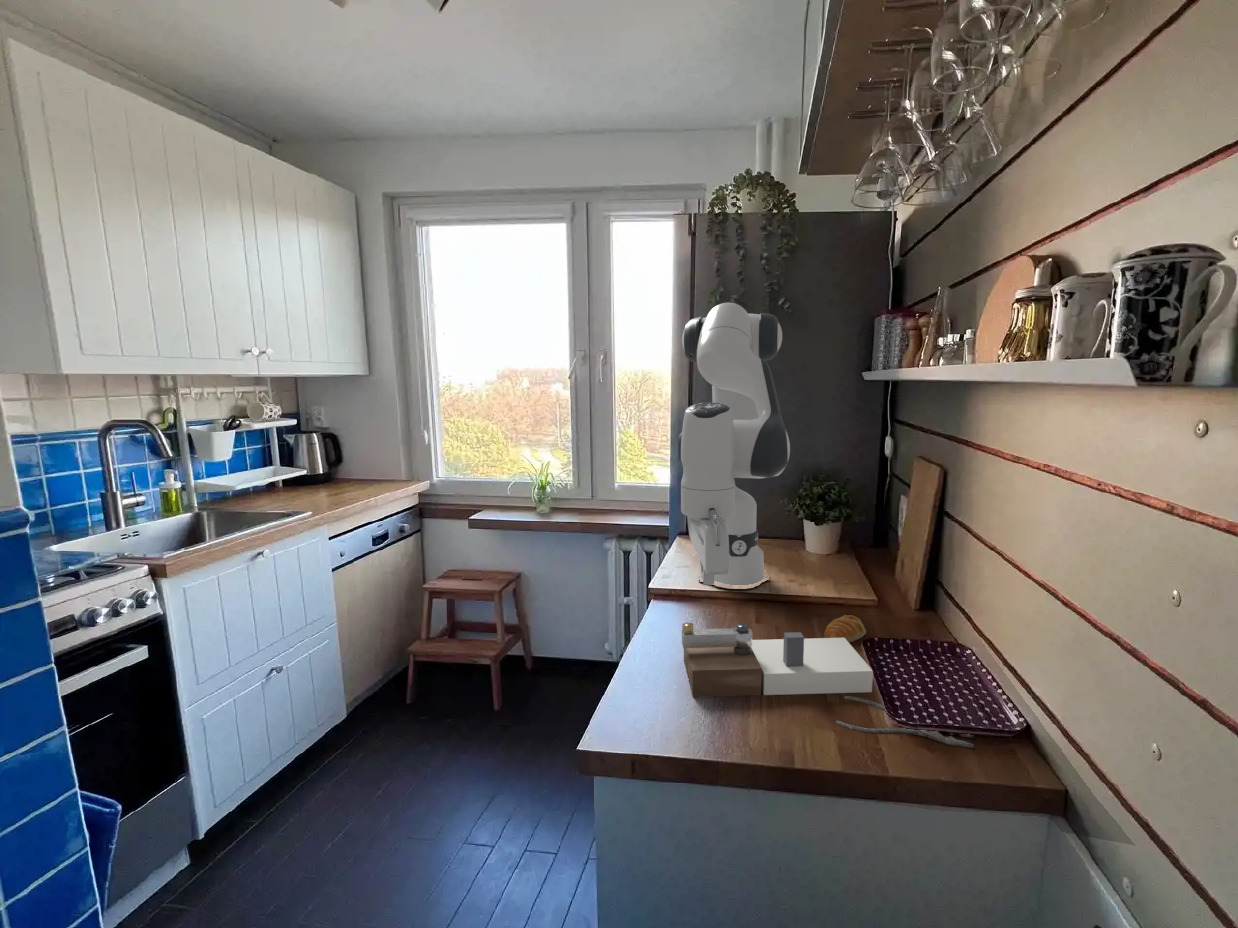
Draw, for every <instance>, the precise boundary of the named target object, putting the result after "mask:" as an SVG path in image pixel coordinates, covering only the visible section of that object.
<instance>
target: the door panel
mask: <svg viewBox="0 0 1238 928" xmlns="http://www.w3.org/2000/svg"><path fill="white" fill-rule="evenodd" d="M850 643H851V642H848V641H847V640H846V639H845V638H825V637H821V638H820V637H818V638H817V637H815V638H814V637H813V638H805V637H804V635H803V633H802V632H801V631H798V632H796V631H795V632H792V631H791V632H783V638H780V639H779V638H777V639H773V638H772V639H752V646H751V648H752V650H753V652H754V654H755V656H756V658H757V660H758V662H759V664H760V666H761V668H762V675H761V693H762V695H763V696H775V695H776V696H777V695H778V696H779V695H782V696H783V695H815V694H816V695H818V694H819V695H820V694H847V693H848V694H851V693H852V694H854V693H855V694H856V693H872V692H873V678H874V677H873V676H874V671H873V669H872V668H871V667H870V666H869V665H868V663H867V662H866V661H865V660H864V659H863V657H862V656H860V654H859V653H858V652H857V650H855V648H854V647H853V646H852V644H850Z"/></svg>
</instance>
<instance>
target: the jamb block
mask: <svg viewBox="0 0 1238 928" xmlns="http://www.w3.org/2000/svg"><path fill="white" fill-rule="evenodd" d="M683 663H684V666H685V667H684V668H685V672H686V674H687V679H689V680H688V683H689V687H690V691H691V695H692V697H693V698H704V697H705V698H707V697H709V698H710V697H711V698H713V697H741V696H742V697H744V696H748V697H749V696H762V690H761V675H762V668H761V666H760V664H759V662H758V660H757V658H756V656H755V654H754V652H753V650H752V648H751V647H749V648H738V647H715V648H683Z"/></svg>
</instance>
